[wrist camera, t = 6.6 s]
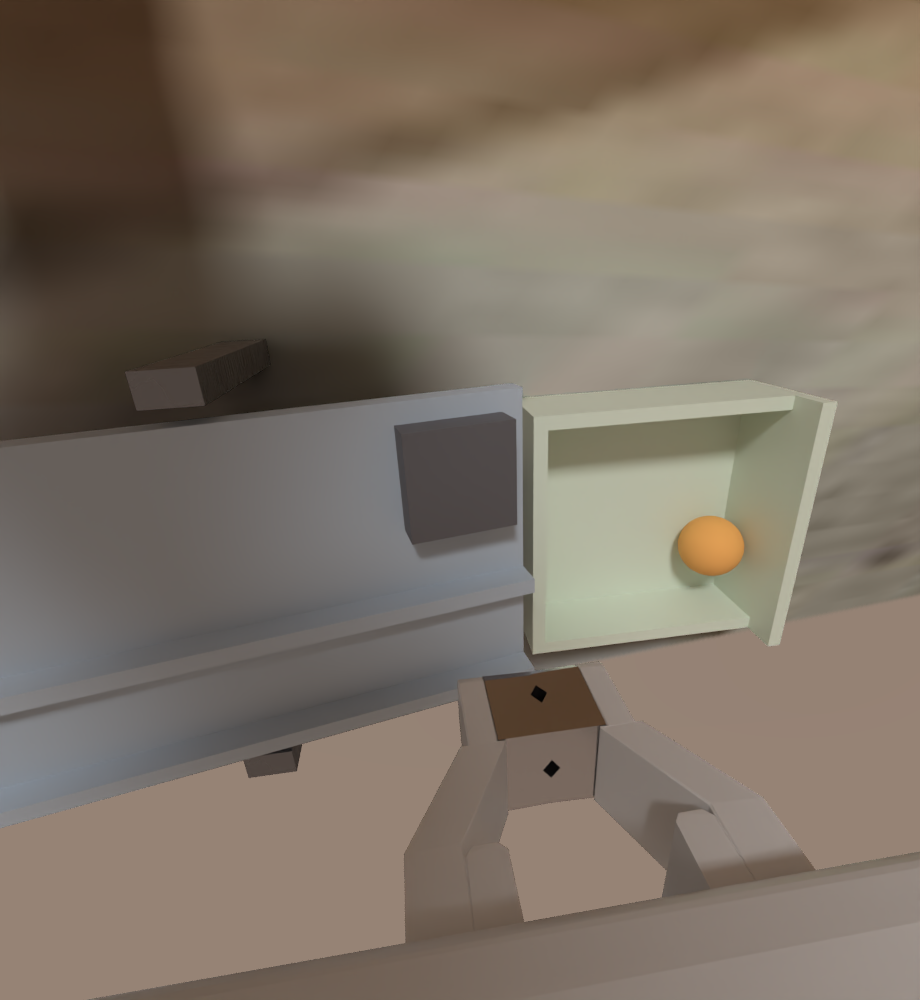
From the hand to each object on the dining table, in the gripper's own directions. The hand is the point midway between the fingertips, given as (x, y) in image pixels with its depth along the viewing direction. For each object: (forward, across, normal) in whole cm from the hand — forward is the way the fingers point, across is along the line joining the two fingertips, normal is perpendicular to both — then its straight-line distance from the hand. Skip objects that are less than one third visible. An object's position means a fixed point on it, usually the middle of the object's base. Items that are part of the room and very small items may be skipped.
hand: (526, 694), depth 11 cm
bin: (+23, -13, +7) cm, 27 cm away
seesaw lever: (+13, +10, +5) cm, 17 cm away
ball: (+20, -18, +9) cm, 28 cm away
